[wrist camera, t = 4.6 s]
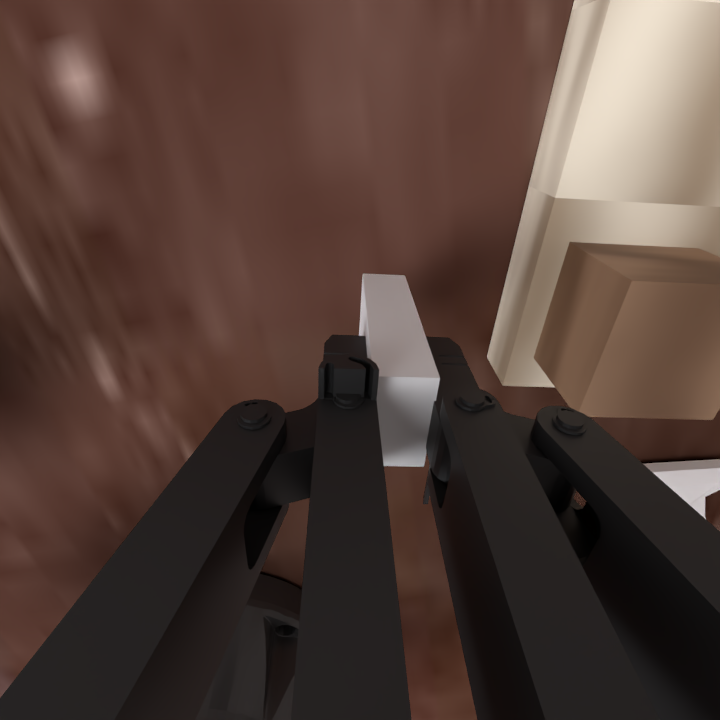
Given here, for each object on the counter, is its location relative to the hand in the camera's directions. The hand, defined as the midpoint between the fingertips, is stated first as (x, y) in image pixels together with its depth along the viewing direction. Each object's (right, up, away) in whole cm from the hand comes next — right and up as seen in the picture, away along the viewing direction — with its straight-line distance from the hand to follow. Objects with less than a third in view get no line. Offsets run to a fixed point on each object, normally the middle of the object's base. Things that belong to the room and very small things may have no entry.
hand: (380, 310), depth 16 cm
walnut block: (+9, 0, +2) cm, 9 cm away
